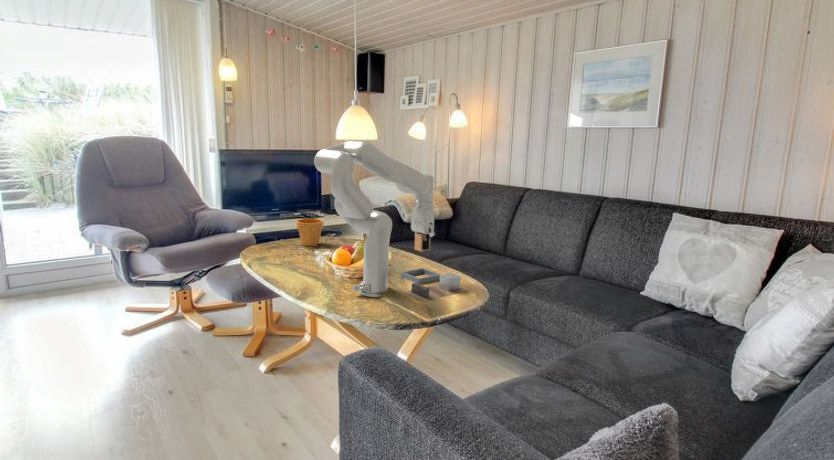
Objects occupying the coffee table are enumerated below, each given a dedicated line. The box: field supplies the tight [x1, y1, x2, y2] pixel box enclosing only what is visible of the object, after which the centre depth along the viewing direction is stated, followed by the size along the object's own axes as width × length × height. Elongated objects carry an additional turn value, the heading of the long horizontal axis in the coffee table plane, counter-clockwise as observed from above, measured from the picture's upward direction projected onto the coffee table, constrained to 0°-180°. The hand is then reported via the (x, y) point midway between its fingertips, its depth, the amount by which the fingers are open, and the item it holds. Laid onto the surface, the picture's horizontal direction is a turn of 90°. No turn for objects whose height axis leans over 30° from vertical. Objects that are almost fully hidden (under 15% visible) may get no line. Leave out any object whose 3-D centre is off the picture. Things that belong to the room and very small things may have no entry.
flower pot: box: [295, 218, 324, 247], centre depth 261 cm, size 14×14×13 cm
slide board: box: [402, 282, 468, 302], centre depth 186 cm, size 23×12×5 cm, turn 129°
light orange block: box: [414, 233, 431, 252], centre depth 200 cm, size 5×4×7 cm
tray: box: [400, 267, 441, 285], centre depth 203 cm, size 12×12×4 cm
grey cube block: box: [438, 272, 462, 291], centre depth 190 cm, size 6×6×5 cm
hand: (422, 247), depth 201 cm, fingers closed on light orange block, 4 cm apart
